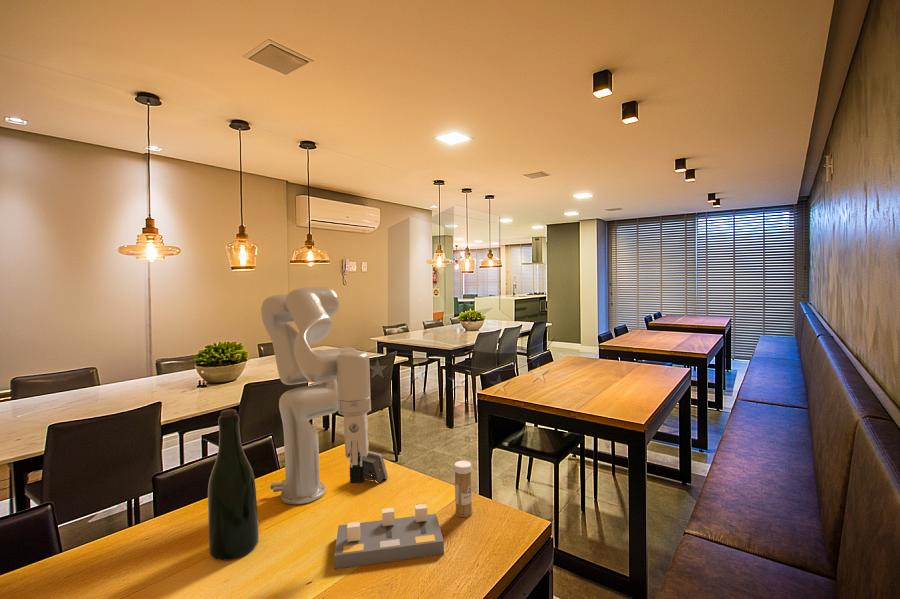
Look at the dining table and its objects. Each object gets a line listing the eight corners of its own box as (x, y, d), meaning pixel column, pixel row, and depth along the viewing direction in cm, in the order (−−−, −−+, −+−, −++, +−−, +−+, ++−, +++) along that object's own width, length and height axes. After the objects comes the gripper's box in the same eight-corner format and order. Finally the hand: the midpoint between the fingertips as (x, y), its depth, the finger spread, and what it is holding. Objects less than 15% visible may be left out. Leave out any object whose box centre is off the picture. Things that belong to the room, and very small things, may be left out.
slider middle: (382, 526, 104) (382, 513, 104) (382, 521, 106) (382, 508, 106) (394, 524, 104) (394, 511, 104) (394, 520, 106) (393, 507, 106)
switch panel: (334, 569, 94) (334, 555, 94) (338, 537, 106) (338, 525, 106) (444, 554, 98) (443, 540, 98) (436, 525, 110) (436, 513, 110)
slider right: (416, 522, 105) (415, 509, 105) (415, 517, 107) (414, 505, 107) (427, 520, 106) (427, 507, 106) (426, 516, 108) (426, 503, 108)
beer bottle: (204, 566, 96) (196, 419, 95) (215, 539, 106) (209, 406, 105) (255, 557, 99) (248, 414, 98) (262, 532, 109) (256, 402, 108)
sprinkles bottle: (470, 519, 112) (468, 468, 112) (453, 516, 114) (451, 466, 113) (474, 510, 117) (473, 460, 116) (458, 507, 118) (456, 459, 118)
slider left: (347, 541, 98) (346, 527, 98) (348, 536, 100) (347, 523, 100) (360, 540, 98) (359, 526, 98) (360, 535, 100) (359, 521, 100)
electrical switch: (388, 479, 136) (385, 451, 135) (377, 488, 132) (374, 459, 131) (367, 473, 142) (363, 446, 140) (355, 481, 137) (352, 453, 136)
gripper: (370, 413, 95) (372, 495, 95) (371, 395, 109) (373, 467, 110) (334, 415, 94) (337, 498, 94) (341, 397, 108) (343, 469, 109)
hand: (357, 481), depth 102 cm, fingers closed
